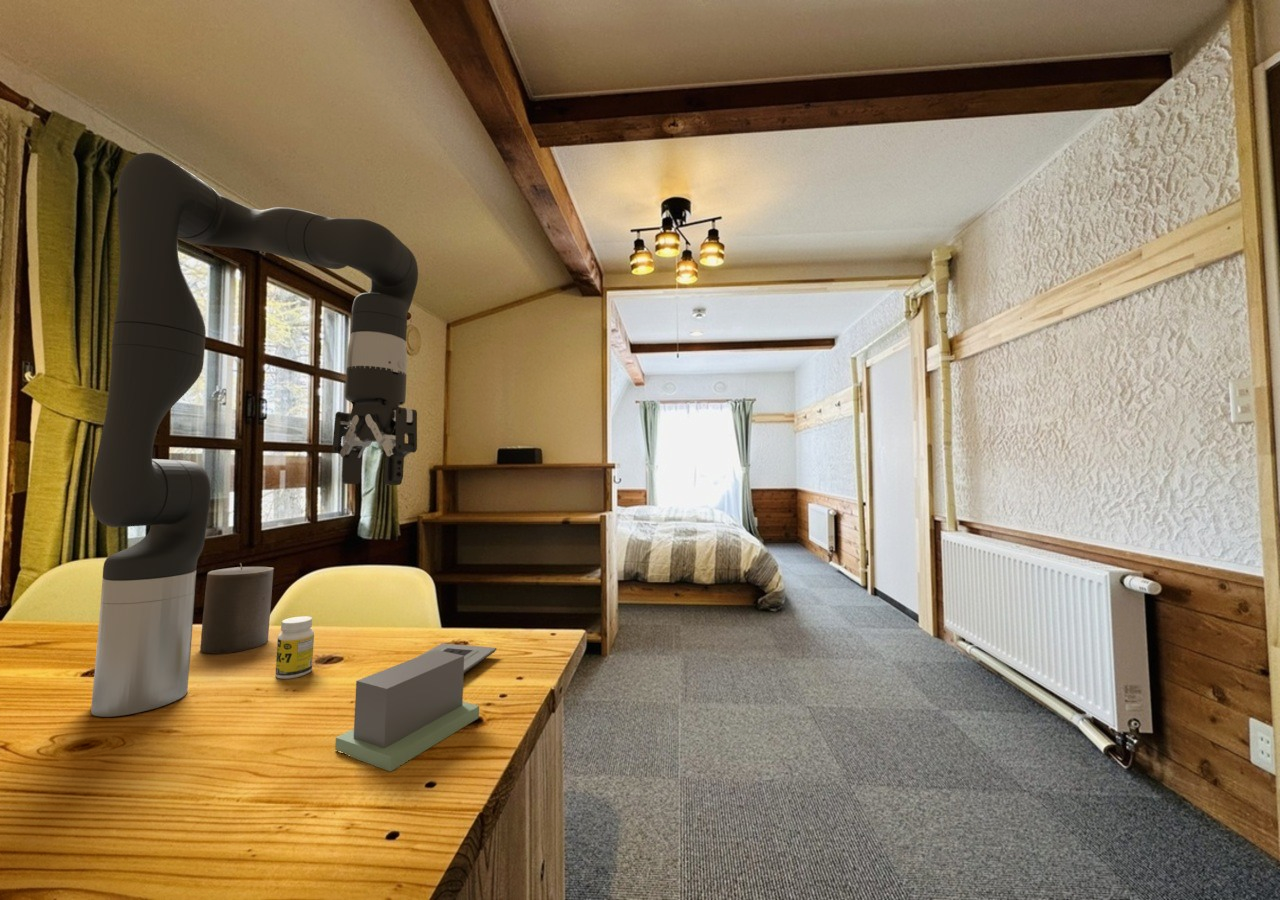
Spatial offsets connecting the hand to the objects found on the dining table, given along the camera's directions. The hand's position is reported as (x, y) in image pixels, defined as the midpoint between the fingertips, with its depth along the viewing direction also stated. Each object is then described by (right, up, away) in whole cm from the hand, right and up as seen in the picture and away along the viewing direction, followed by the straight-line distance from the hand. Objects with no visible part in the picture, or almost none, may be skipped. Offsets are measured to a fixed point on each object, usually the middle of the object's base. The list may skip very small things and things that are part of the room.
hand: (371, 484), depth 68 cm
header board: (+10, -30, -9) cm, 32 cm away
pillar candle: (-37, -32, +22) cm, 53 cm away
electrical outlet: (+6, -32, +12) cm, 34 cm away
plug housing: (+10, -28, -9) cm, 31 cm away
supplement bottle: (-17, -31, +9) cm, 36 cm away
